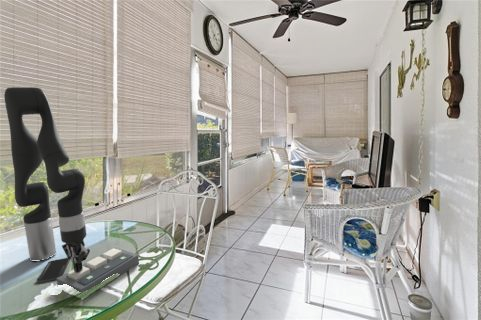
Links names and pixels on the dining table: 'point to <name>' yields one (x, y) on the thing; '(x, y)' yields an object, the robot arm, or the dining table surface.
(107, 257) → the key
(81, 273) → the key
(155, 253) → the dining table surface
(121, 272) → the keypad
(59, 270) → the phone
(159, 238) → the dining table surface
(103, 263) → the key
